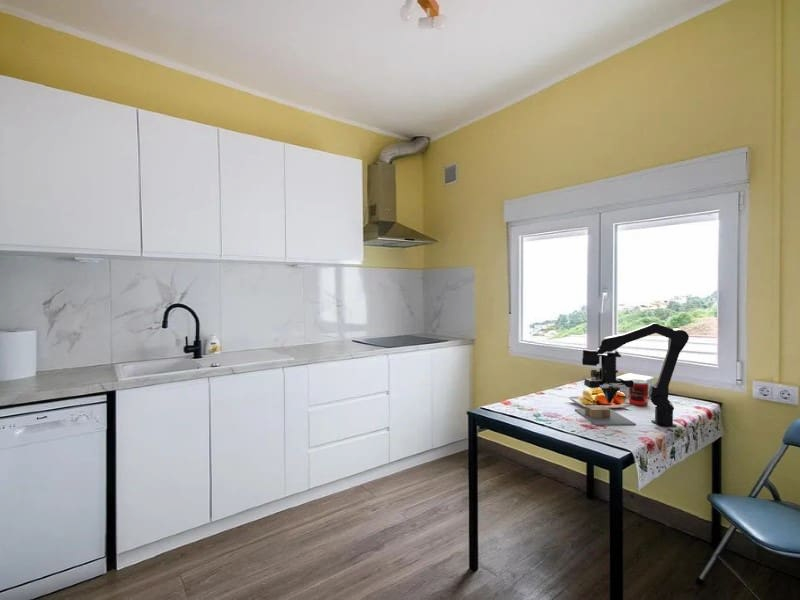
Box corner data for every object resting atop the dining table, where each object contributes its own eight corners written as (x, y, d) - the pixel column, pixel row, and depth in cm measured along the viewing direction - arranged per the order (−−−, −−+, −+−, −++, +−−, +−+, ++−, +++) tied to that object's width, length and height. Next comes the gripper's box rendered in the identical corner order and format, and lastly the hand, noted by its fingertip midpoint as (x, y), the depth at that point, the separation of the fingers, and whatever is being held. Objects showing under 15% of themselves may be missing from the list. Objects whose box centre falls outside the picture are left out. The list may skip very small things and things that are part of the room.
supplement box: (627, 389, 220) (627, 372, 220) (654, 394, 210) (654, 376, 209) (613, 395, 210) (613, 377, 209) (640, 400, 199) (641, 381, 199)
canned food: (642, 401, 197) (642, 379, 196) (651, 406, 189) (651, 383, 188) (626, 401, 197) (626, 379, 197) (633, 406, 189) (634, 383, 189)
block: (610, 409, 171) (591, 409, 171) (610, 418, 171) (591, 418, 171) (603, 405, 177) (584, 405, 177) (603, 413, 177) (584, 413, 177)
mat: (635, 425, 164) (635, 423, 164) (596, 425, 164) (596, 423, 164) (610, 410, 184) (610, 408, 184) (574, 410, 184) (574, 409, 184)
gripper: (620, 362, 181) (620, 397, 182) (578, 363, 181) (578, 398, 182) (634, 367, 170) (634, 404, 171) (590, 368, 170) (590, 405, 171)
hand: (608, 402), depth 174 cm, fingers closed
